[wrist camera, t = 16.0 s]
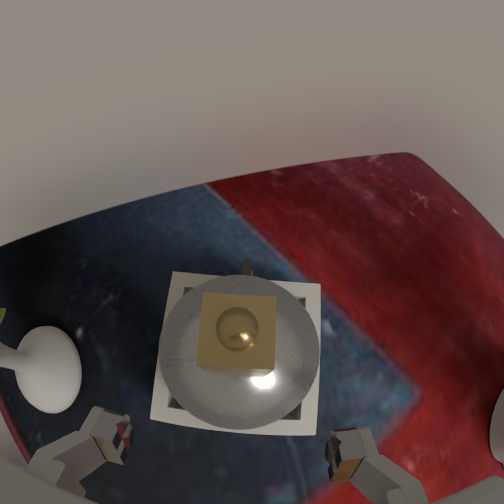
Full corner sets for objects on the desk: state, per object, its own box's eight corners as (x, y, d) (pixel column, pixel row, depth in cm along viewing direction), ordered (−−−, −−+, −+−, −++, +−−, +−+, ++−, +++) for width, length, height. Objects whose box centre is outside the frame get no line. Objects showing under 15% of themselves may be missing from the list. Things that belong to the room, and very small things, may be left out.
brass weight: (266, 326, 25) (277, 292, 17) (264, 377, 23) (275, 368, 15) (215, 323, 25) (201, 287, 17) (210, 374, 23) (193, 362, 15)
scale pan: (308, 283, 33) (319, 261, 28) (302, 426, 25) (315, 432, 20) (186, 272, 33) (176, 249, 28) (165, 413, 26) (149, 416, 21)
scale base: (308, 299, 34) (320, 280, 29) (302, 428, 27) (315, 435, 22) (184, 288, 35) (173, 267, 29) (166, 415, 27) (150, 418, 22)
